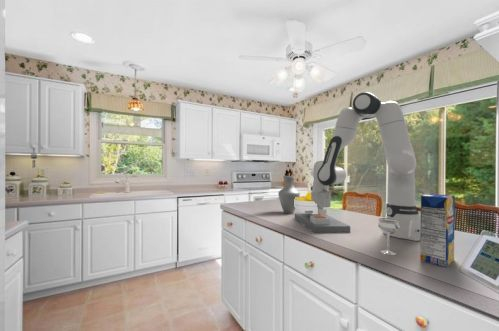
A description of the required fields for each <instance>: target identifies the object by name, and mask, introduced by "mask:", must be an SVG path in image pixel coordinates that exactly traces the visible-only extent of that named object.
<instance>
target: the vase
mask: <svg viewBox="0 0 499 331" xmlns="http://www.w3.org/2000/svg"><path fill="white" fill-rule="evenodd" d="M282 177H283V179H284V186H283V188H282V189H280V190H279V191H278V192H277V194H278V198H279V203H280V206H281V209H282V211H283V213H284V214H290V213H291V214H295V210H296V208H295V207H294V199H295V197H299V198H300V194H301V193H300V191H299V190H298V189H296V188H295V185H294V182H295V178H296V176H295V175H283V176H282Z"/></svg>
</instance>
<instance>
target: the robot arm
mask: <svg viewBox="0 0 499 331" xmlns="http://www.w3.org/2000/svg"><path fill="white" fill-rule="evenodd" d="M370 119H376V121H377V124H378V129H379V133H380V137H381V143H382V145H383V146H382V147H383V151H384V154H385V158H386V164H387V167H388V168H387V196H386V197H387V198H386V199H387V200H386V201H387V203H386V204H385V205H386V206H385V211H386V212H385V213H386V218H390V219H396V220H399V222H398V224H399V230H398V231H397V232H396V233H394V234H391V235H390V237H393V238H399V239H403V240H404V239H405V240H411V241H414V242H417V241H418V242H419V241H420V242H421V214H420V212H421V206H416V172H415V171H416V170H415V169H416V168H417V165H418V164H417V162H418V161H417V159H416V158H417V157H416V155H415V151H414V149H413V145H412V141H411V139H410V135H409V130H408V127H407V123H406V119H405V115H404V113H403V110H402V108H401V107H400V104H399V103H398V102H397V101H395V100H394V101H392V100H389V101H385V102H383V101H381V100H380V98H378V97H377V95H375V94H373V93H372V92H368V91H363V92H360V93H358V94H357V95H356V96H355V97H354V98H353V101H352V107H350V106H349V107H344V108H342V109H341V110H340V112H339V114H338V116H337V120H336V123H335V127H334V130H333V133H332V134H333V135H332V137H331V139H330V141H329V143H328V146H327V149H326V152H325V155H324V158H323V160H318V161H316V162H314V165H313V168H312V169H313V170H312V178H313V181H312V185H311V186H310V195H311V196H310V197H311V202H312V201H314V202H315V203H314V204H315V205H316V207H317V210H318V209H325V208H331V205H332V204H331V202H332V201H331V194H330V192H329V188H330V186H332V185H338V184H342V183H343V182H344V181H345V180H346V178H347V172H346V171H345V169H344V168H343V167H340V166H337V165H336V164H337V161H338V158H339V154H340V153H341V151H342V149H344V148H345V147H347V146H349V145H351V144H352V143H353V142H354V140H355V138H356V136H357V131H358V127H359V123H360V122H361V121H365V120H370ZM382 233H383V234H385V235H386V233H384V232H382Z"/></svg>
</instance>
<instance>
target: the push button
mask: <svg viewBox="0 0 499 331" xmlns="http://www.w3.org/2000/svg"><path fill="white" fill-rule="evenodd" d="M315 218H325V215H323V214H315Z"/></svg>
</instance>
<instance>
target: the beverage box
mask: <svg viewBox="0 0 499 331" xmlns="http://www.w3.org/2000/svg"><path fill="white" fill-rule="evenodd" d="M455 200H456V196H455V195H451V194H437V193H436V194H435V193H427V194H422V195H420V207H421V211H420V215H421V240H420V249H419V250H420V253H419V254H420V255H419V256H420V257H419V258H420V259H419V261H420V262H422V263H427V264H431V265H435V266H437V267H442V268H447V267H449V265H451V263H452V262H453V261H455V217H456V216H455V211H456V210H455V207H456V206H455V204H456V203H455V202H456V201H455Z"/></svg>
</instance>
